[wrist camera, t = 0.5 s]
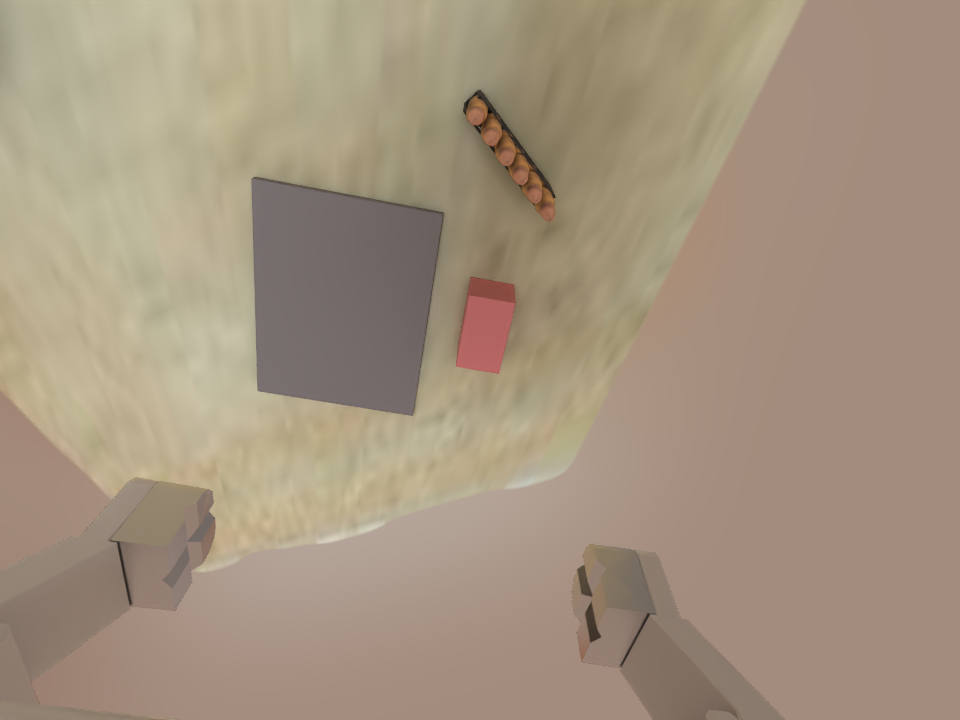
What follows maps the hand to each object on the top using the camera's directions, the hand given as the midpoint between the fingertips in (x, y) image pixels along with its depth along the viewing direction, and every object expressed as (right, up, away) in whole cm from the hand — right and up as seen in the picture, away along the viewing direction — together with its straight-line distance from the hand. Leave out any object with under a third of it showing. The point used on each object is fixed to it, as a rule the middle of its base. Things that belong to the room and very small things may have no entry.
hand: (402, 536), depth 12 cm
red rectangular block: (+2, +9, +45) cm, 46 cm away
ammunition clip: (+4, +23, +37) cm, 44 cm away
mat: (-13, +9, +45) cm, 48 cm away
